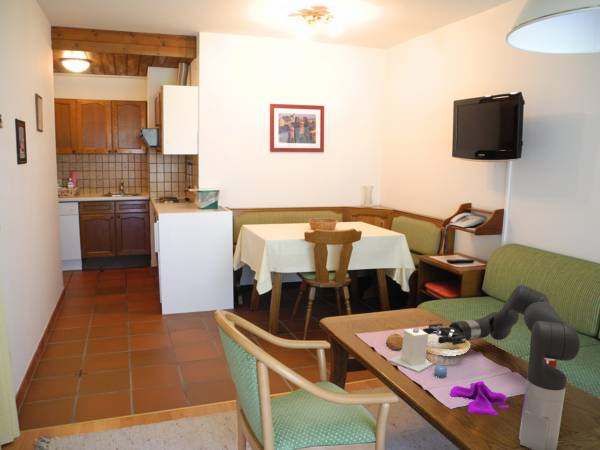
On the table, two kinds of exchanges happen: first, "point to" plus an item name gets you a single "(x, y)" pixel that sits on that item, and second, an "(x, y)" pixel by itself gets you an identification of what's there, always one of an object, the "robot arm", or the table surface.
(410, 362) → the white square bottle
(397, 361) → the mat
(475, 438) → the table surface
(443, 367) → the blue rounded block
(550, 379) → the robot arm
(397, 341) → the pastry
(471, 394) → the cloth
